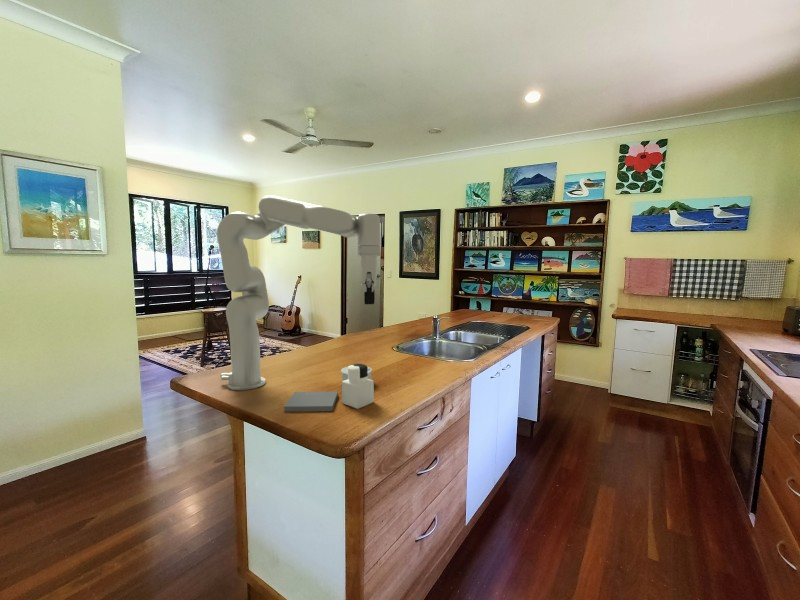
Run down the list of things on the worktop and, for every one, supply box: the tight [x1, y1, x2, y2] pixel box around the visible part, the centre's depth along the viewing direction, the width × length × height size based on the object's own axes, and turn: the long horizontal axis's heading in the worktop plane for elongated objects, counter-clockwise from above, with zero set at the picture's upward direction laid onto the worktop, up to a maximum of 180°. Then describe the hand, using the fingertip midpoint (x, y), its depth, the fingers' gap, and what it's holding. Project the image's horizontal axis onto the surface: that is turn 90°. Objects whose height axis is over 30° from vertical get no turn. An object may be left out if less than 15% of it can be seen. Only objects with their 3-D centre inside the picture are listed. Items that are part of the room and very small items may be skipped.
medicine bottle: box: [341, 363, 375, 410], centre depth 110 cm, size 7×7×12 cm
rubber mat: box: [283, 390, 339, 413], centre depth 110 cm, size 14×12×2 cm
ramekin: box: [340, 365, 373, 381], centre depth 128 cm, size 11×11×5 cm
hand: (369, 302), depth 121 cm, fingers open, 9 cm apart
